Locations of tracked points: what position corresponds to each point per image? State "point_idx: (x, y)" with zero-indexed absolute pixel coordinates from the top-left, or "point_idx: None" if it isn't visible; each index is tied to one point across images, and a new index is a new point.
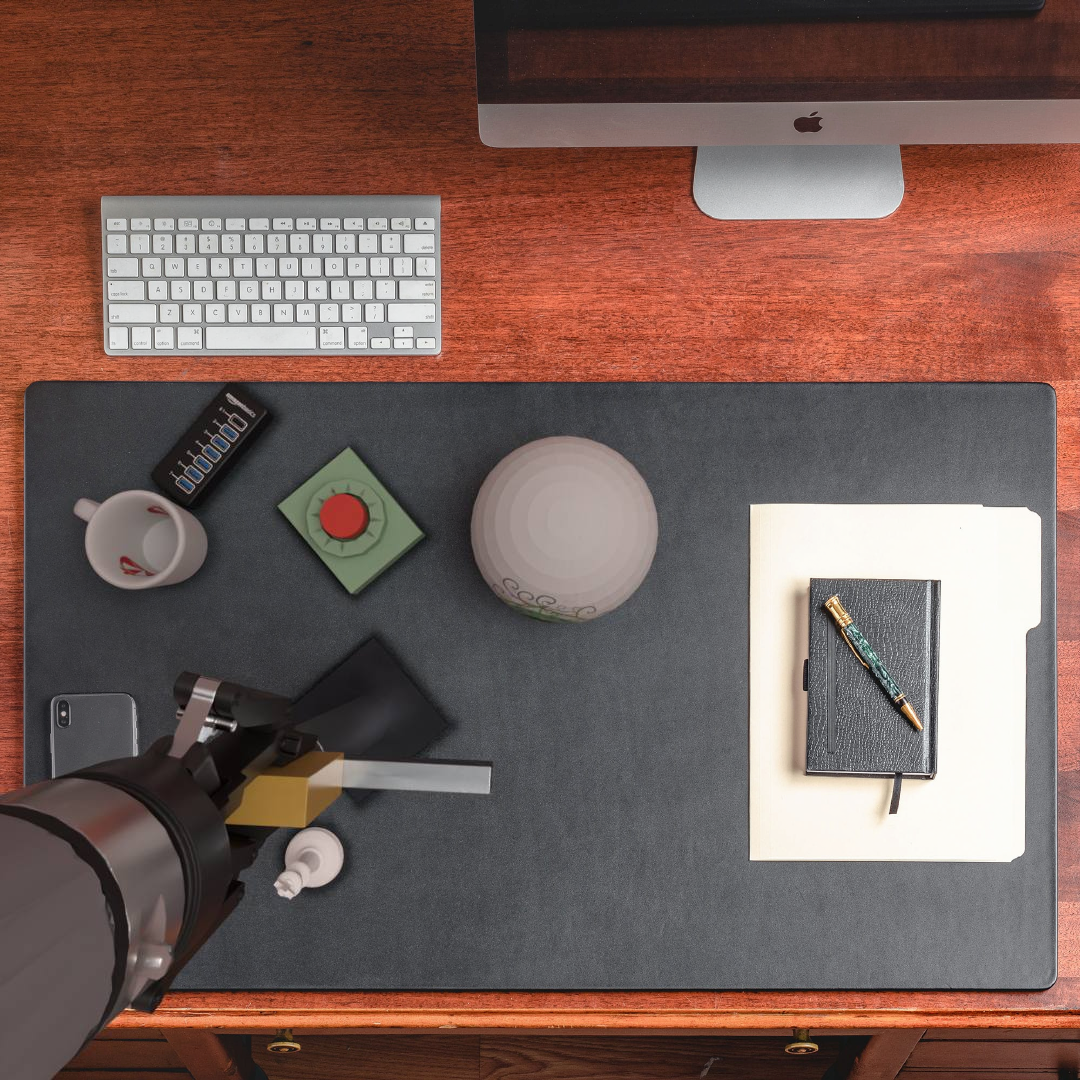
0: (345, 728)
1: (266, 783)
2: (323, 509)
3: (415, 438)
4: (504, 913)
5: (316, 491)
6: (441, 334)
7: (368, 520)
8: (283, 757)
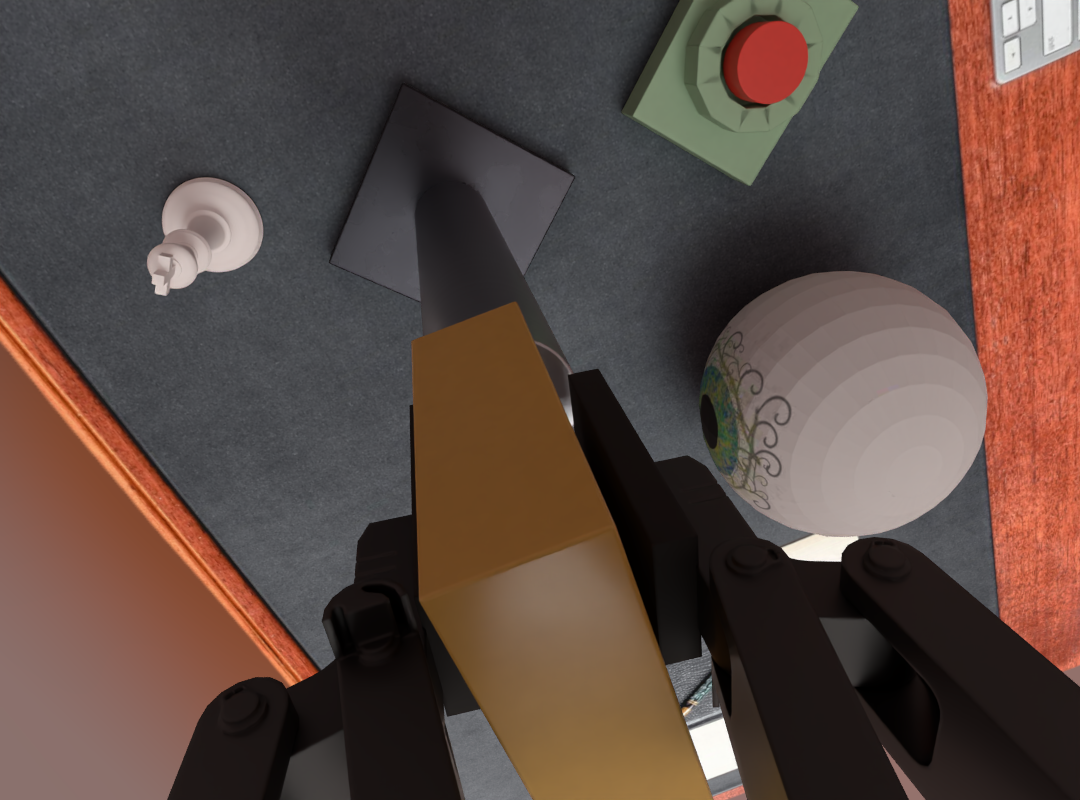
0: None
1: (680, 784)
2: (776, 26)
3: (870, 101)
4: (292, 488)
5: None
6: (1026, 73)
7: None
8: (685, 652)
